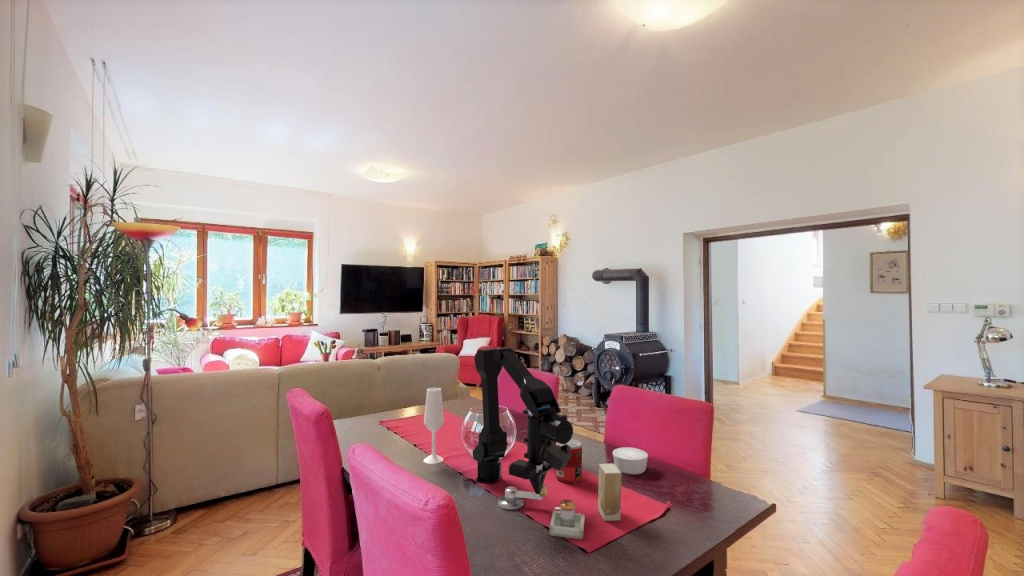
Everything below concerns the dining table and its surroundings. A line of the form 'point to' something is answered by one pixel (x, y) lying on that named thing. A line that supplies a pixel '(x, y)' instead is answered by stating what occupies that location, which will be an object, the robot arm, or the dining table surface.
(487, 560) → the dining table surface
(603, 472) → the skincare box
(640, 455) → the ramekin
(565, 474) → the canned food
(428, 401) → the champagne flute
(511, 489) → the crank
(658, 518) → the dining table surface
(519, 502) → the crank base
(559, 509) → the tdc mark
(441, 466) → the dining table surface
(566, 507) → the glass jar
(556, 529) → the tray
